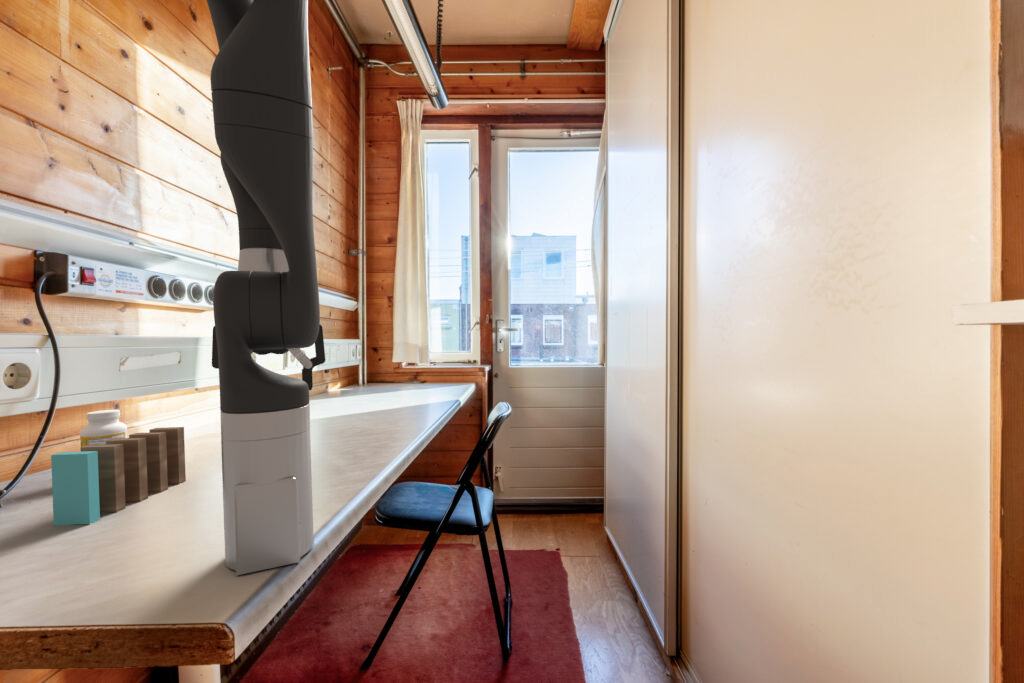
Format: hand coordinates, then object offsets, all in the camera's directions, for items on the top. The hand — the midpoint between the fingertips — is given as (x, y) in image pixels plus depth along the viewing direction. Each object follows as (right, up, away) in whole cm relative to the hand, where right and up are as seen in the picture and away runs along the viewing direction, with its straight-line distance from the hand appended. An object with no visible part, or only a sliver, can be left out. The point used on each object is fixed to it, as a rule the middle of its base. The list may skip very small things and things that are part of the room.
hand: (273, 396), depth 65 cm
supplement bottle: (-43, -19, +21) cm, 51 cm away
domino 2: (-28, -18, +3) cm, 33 cm away
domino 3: (-28, -18, +8) cm, 34 cm away
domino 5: (-28, -18, +17) cm, 37 cm away
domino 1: (-28, -18, -1) cm, 33 cm away
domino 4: (-28, -18, +12) cm, 35 cm away
